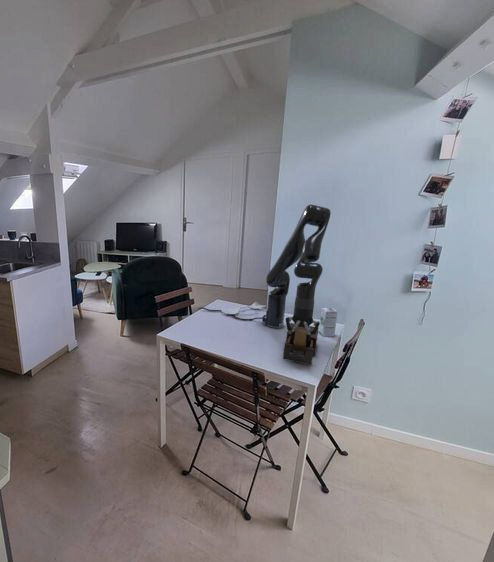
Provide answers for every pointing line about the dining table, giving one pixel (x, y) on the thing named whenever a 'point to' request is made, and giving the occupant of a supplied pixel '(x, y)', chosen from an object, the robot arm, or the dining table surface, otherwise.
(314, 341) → the cabinet
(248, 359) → the dining table surface
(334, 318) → the syrup box
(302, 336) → the tan wooden cylinder
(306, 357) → the drawer
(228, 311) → the spoon
